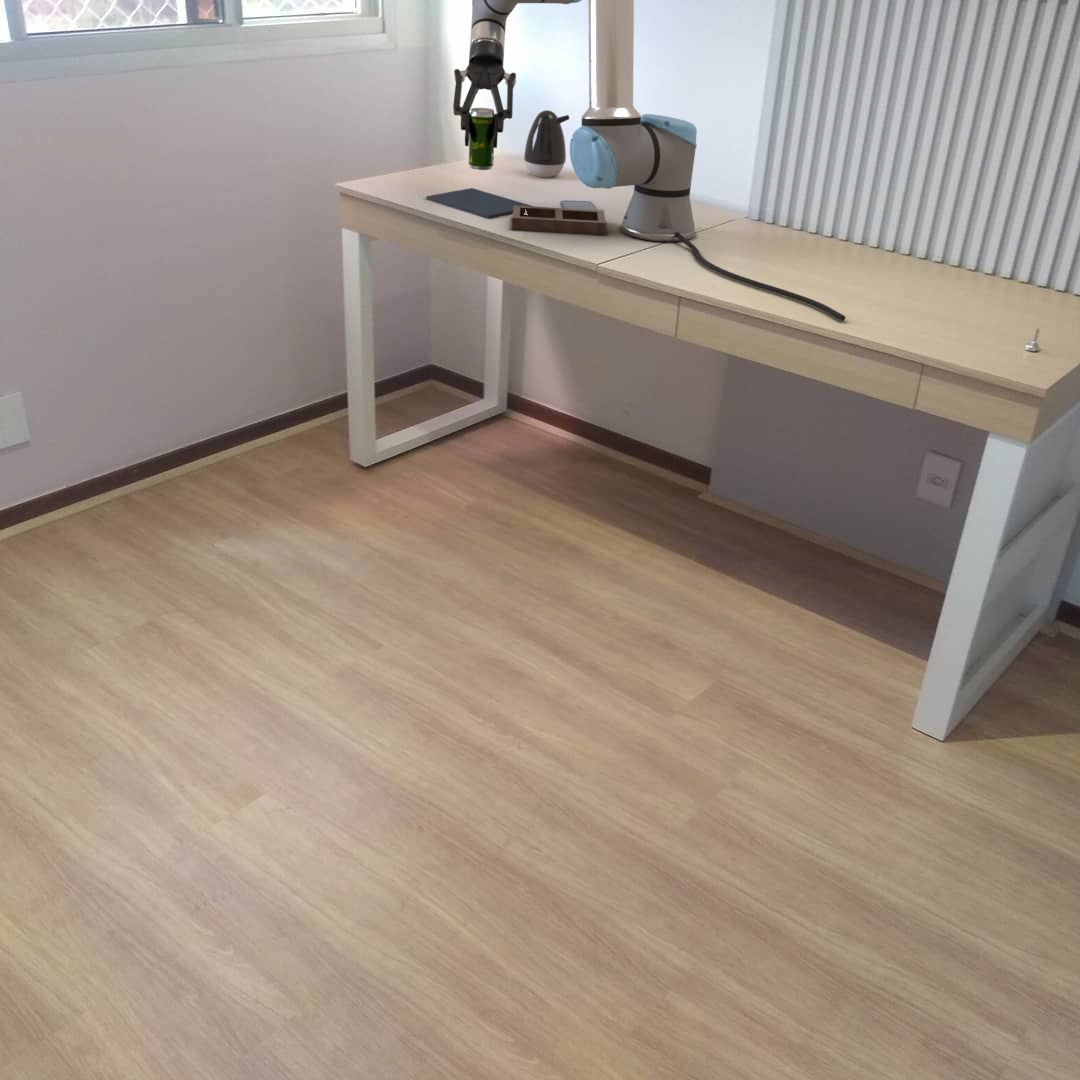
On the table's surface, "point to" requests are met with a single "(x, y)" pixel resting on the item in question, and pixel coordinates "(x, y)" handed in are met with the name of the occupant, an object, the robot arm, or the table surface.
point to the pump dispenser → (546, 145)
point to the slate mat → (477, 202)
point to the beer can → (481, 138)
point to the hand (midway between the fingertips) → (480, 143)
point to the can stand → (558, 220)
